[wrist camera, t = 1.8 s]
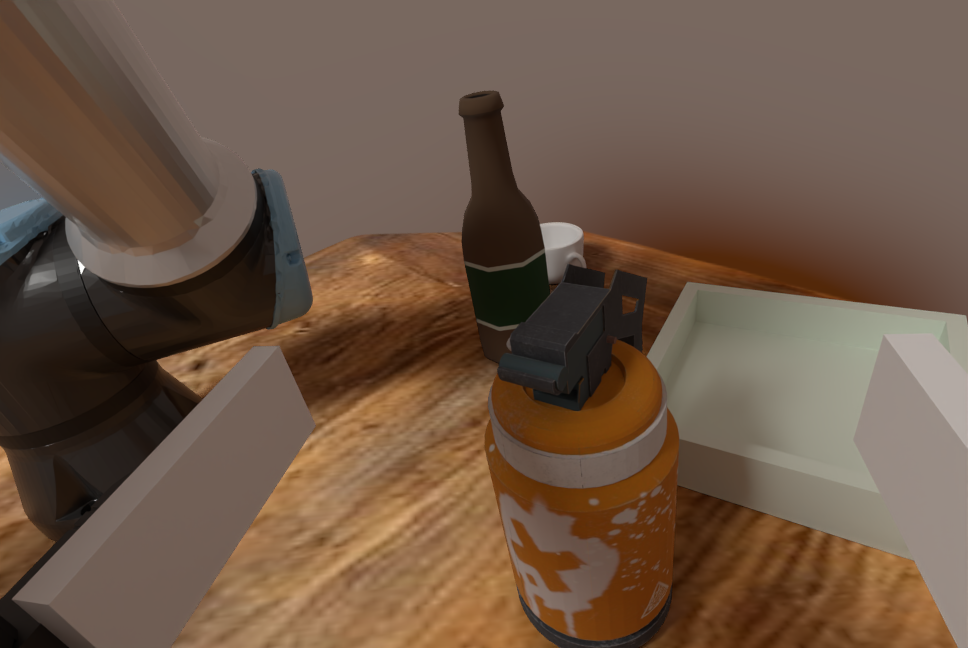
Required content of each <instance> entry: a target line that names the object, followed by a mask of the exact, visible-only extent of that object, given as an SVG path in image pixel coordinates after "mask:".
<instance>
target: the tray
mask: <svg viewBox="0 0 968 648" xmlns="http://www.w3.org/2000/svg"><path fill="white" fill-rule="evenodd" d="M924 333H932V334H933V335H934V336H935V337H936V338H937V339H938V341H939V342H940V343H941V344H942V345H943V346H944V347H945V349H946V350H947V351H948V352H949V353H950V354H951V356H952V357H953V358H954V359H955V360H956V361H957V362H958V364H959V365H960V366H961V367H962V368H963V369H964V370H965V372H966V373H967V374H968V325H967V319H966V316H965V315H957V314H949V313H941V312H932V311H924V310H916V309H908V308H899V307H891V306H883V305H875V304H866V303H858V302H850V301H842V300H833V299H825V298H817V297H808V296H800V295H792V294H784V293H775V292H767V291H759V290H751V289H742V288H734V287H726V286H717V285H709V284H701V283H693V282H687V283H686V285H685V287H684V289H683V291H682V292H681V294H680V296H679V298H678V300H677V302H676V303H675V305H674V307H673V309H672V311H671V313H670V314H669V316H668V318H667V320H666V322H665V324H664V325H663V327H662V329H661V331H660V333H659V335H658V336H657V338H656V340H655V342H654V344H653V346H652V347H651V349H650V351H649V353H648V355H647V358H648V359H649V360H650V361H651V363H652V364H653V365H654V367H655V368H656V370H657V371H658V373H659V374H660V376H661V377H662V379H663V382H664V384H665V386H666V392H667V407H668V409H669V410H670V412H671V413H672V415H673V417H674V419H675V422H676V424H677V427H678V432H679V458H678V478H677V485H678V486H681V487H684V488H688V489H691V490H694V491H697V492H700V493H703V494H706V495H710V496H713V497H716V498H719V499H722V500H725V501H728V502H731V503H735V504H738V505H741V506H744V507H747V508H750V509H753V510H757V511H760V512H763V513H766V514H769V515H772V516H775V517H778V518H782V519H785V520H788V521H791V522H794V523H797V524H800V525H804V526H807V527H810V528H813V529H816V530H819V531H822V532H825V533H829V534H832V535H835V536H838V537H841V538H844V539H847V540H851V541H854V542H857V543H860V544H863V545H866V546H869V547H872V548H876V549H879V550H882V551H885V552H888V553H891V554H894V555H898V556H901V557H904V558H907V559H910V560H913V561H914V559H913V557H912V555H911V553H910V551H909V549H908V547H907V545H906V544H905V542H904V540H903V538H902V536H901V534H900V532H899V530H898V528H897V526H896V524H895V522H894V520H893V518H892V516H891V514H890V512H889V510H888V508H887V506H886V504H885V502H884V500H883V498H882V496H881V494H880V492H879V490H878V488H877V486H876V484H875V482H874V480H873V478H872V476H871V474H870V472H869V470H868V468H867V466H866V464H865V462H864V460H863V458H862V456H861V454H860V452H859V450H858V448H857V446H856V444H855V442H854V440H853V439H854V435H855V432H856V428H857V425H858V421H859V418H860V414H861V411H862V407H863V404H864V400H865V397H866V394H867V390H868V387H869V383H870V380H871V376H872V373H873V369H874V366H875V362H876V359H877V355H878V352H879V348H880V345H881V341H882V338H883V334H924Z"/></svg>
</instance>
